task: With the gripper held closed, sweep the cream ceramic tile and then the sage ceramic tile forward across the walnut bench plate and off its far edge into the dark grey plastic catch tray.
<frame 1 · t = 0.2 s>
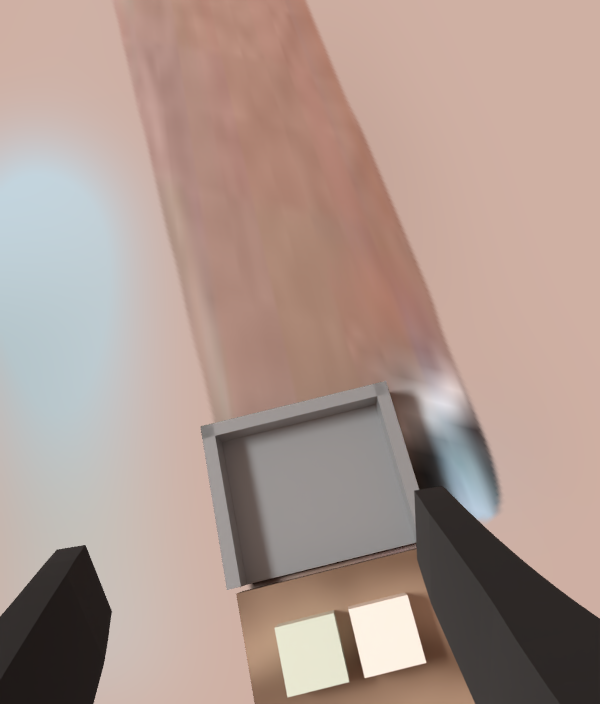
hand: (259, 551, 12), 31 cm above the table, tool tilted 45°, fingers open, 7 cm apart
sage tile: (312, 648, 36), point 2 cm above the table, touching bench plate
catch tray: (313, 484, 42), on the table
cream tile: (384, 631, 36), point 2 cm above the table, touching bench plate
bench plate: (357, 673, 37), on the table
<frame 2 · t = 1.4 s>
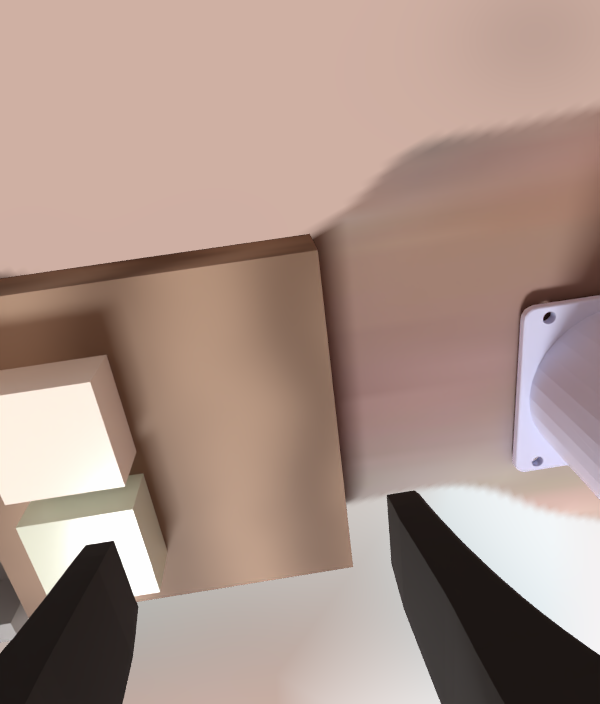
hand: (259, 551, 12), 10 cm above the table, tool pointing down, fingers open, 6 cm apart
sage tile: (105, 522, 21), point 2 cm above the table, touching bench plate
cream tile: (65, 413, 19), point 2 cm above the table, touching bench plate
bench plate: (163, 424, 22), on the table
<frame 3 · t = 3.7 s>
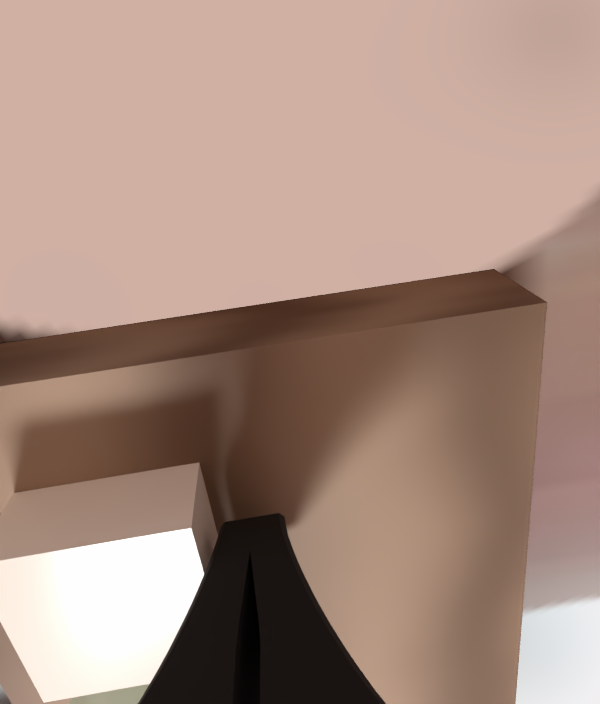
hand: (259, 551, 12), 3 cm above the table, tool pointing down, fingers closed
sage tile: (182, 681, 14), point 2 cm above the table, touching bench plate
cream tile: (131, 546, 12), point 3 cm above the table, touching bench plate, gripper
bench plate: (256, 531, 16), on the table
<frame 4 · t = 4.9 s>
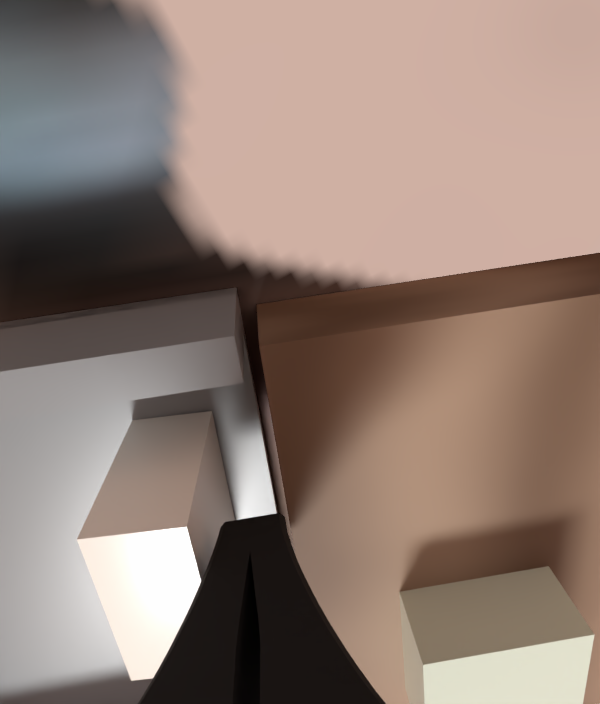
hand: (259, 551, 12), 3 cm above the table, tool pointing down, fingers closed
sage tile: (473, 630, 15), point 2 cm above the table, touching bench plate
catch tray: (78, 560, 15), on the table
cream tile: (217, 530, 12), point 3 cm above the table, tilted 93°, touching catch tray, gripper
bench plate: (522, 486, 16), on the table
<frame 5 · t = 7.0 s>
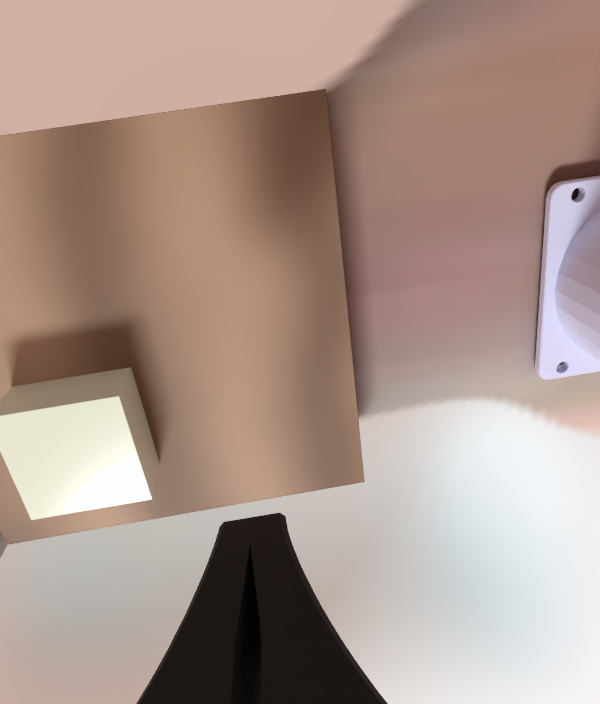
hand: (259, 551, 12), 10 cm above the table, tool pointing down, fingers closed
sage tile: (89, 426, 18), point 2 cm above the table, touching bench plate
bench plate: (153, 324, 20), on the table
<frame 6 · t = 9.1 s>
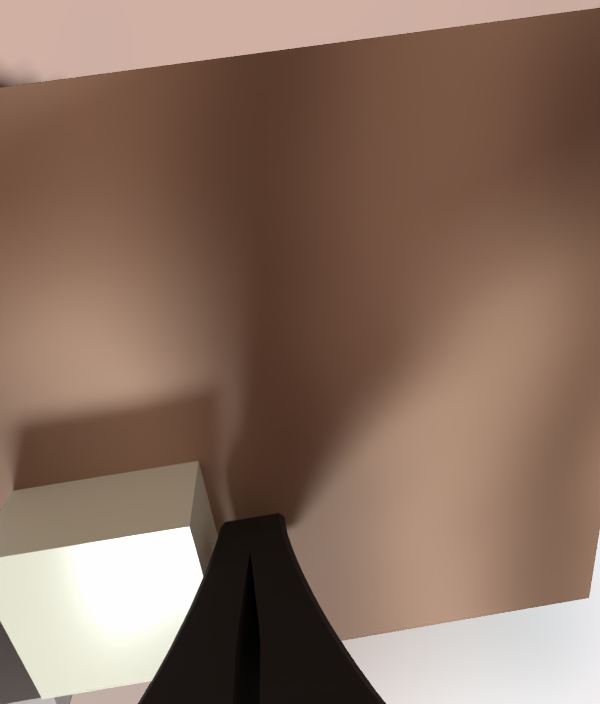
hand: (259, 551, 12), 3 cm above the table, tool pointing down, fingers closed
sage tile: (130, 544, 12), point 2 cm above the table, touching bench plate, gripper
bench plate: (298, 372, 14), on the table
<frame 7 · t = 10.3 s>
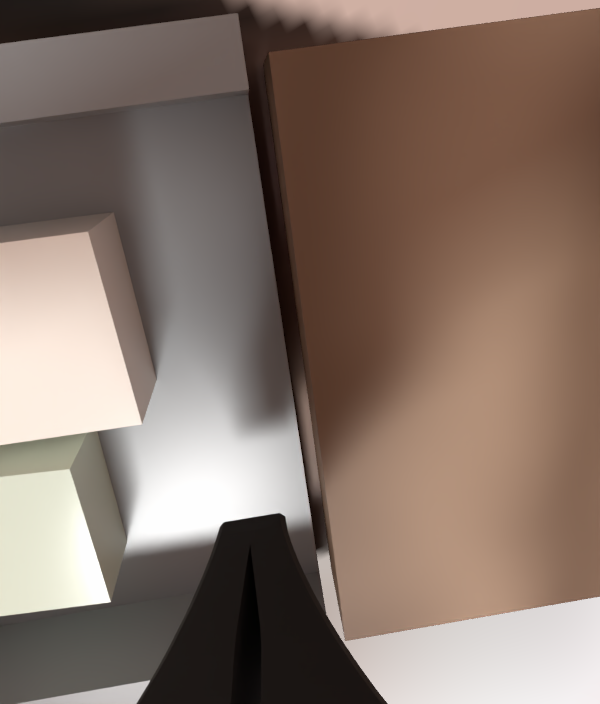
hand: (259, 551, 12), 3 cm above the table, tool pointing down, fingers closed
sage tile: (1, 551, 12), point 2 cm above the table, tilted 180°, touching catch tray
catch tray: (55, 410, 13), on the table
cream tile: (11, 350, 10), point 2 cm above the table, tilted 180°, touching catch tray
bench plate: (568, 330, 14), on the table
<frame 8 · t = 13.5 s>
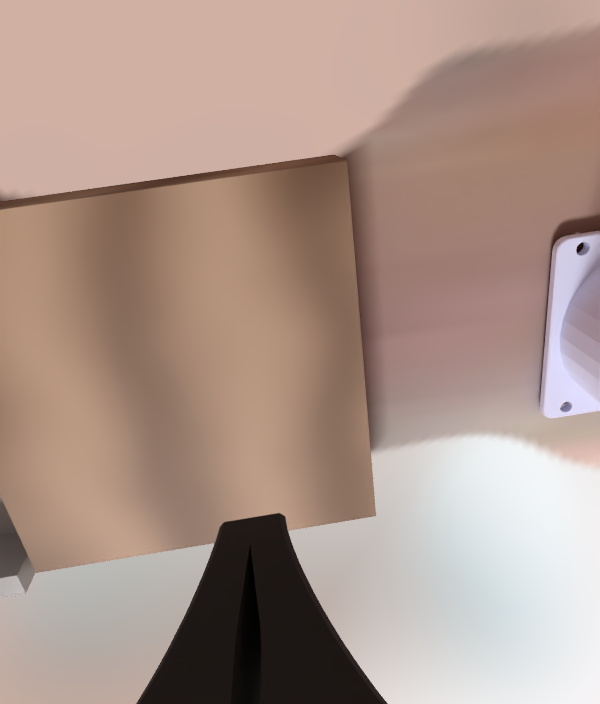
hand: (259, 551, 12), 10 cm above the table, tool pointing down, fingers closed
bench plate: (177, 365, 21), on the table
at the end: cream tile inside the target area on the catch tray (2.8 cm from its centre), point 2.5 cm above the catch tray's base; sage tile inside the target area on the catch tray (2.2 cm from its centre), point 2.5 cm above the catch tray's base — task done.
